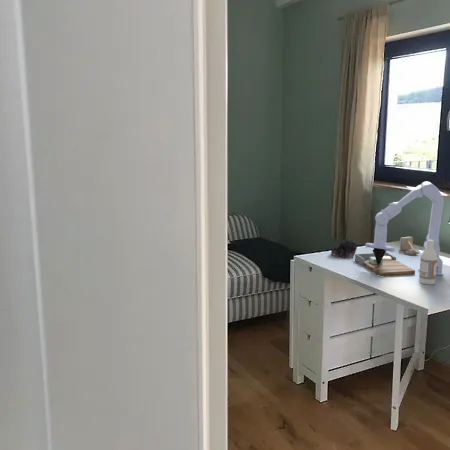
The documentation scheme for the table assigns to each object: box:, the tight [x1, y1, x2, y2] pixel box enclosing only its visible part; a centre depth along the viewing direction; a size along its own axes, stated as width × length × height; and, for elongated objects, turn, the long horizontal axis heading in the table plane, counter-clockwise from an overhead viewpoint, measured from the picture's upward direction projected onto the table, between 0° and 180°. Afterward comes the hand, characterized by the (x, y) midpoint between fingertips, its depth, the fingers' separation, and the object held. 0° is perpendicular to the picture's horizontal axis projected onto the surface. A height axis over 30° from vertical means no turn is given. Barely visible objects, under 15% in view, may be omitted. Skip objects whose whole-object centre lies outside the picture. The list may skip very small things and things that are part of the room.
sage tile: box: [369, 257, 383, 264], centre depth 259 cm, size 5×5×2 cm
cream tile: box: [382, 256, 392, 261], centre depth 266 cm, size 5×5×2 cm
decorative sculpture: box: [398, 236, 420, 256], centre depth 286 cm, size 16×10×7 cm, turn 174°
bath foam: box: [418, 240, 437, 286], centre depth 233 cm, size 7×7×20 cm
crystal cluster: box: [330, 238, 358, 259], centre depth 279 cm, size 13×14×10 cm
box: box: [354, 251, 397, 266], centre depth 267 cm, size 10×18×4 cm, turn 101°
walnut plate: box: [362, 259, 416, 277], centre depth 253 cm, size 18×18×2 cm
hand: (378, 263), depth 255 cm, fingers closed
